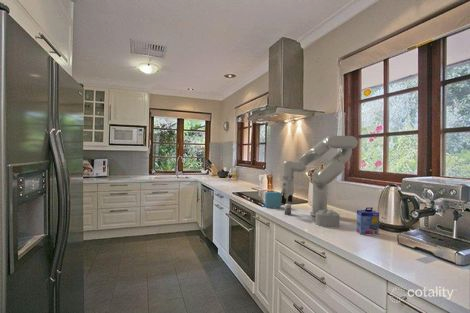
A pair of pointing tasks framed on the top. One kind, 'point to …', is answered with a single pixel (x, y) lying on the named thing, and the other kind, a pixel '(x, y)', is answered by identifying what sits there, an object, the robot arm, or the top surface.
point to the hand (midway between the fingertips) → (286, 202)
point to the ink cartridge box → (367, 221)
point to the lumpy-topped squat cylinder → (327, 218)
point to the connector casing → (287, 209)
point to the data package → (273, 199)
